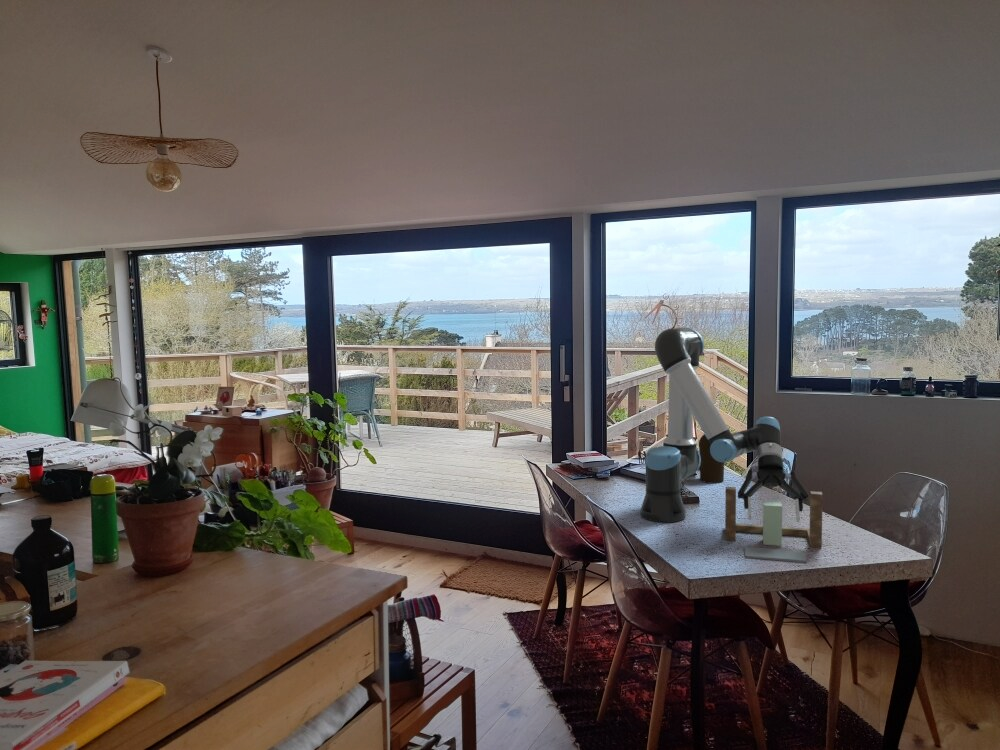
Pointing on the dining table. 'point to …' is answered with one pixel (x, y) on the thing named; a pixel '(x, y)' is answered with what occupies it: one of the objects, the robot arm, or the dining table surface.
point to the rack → (812, 534)
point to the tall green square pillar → (772, 523)
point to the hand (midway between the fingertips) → (773, 518)
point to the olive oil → (709, 463)
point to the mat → (775, 554)
